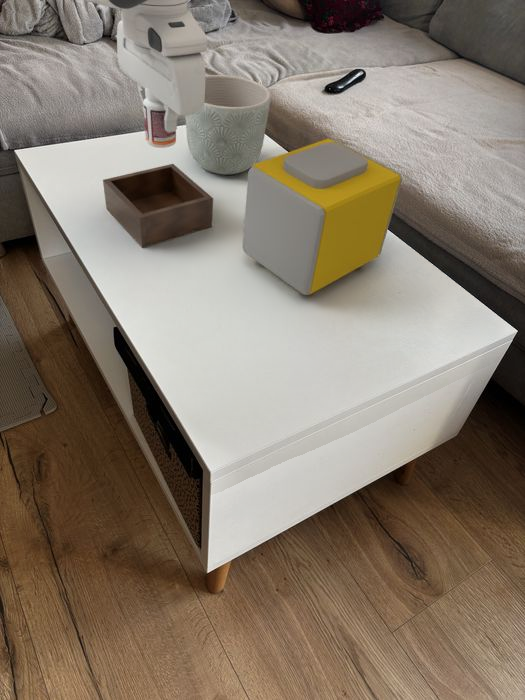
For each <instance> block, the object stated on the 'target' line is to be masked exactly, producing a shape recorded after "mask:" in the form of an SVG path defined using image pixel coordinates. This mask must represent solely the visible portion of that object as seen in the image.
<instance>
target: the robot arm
mask: <svg viewBox="0 0 525 700" xmlns="http://www.w3.org/2000/svg"><path fill="white" fill-rule="evenodd" d="M84 1H86V2H89V3H92V4H93V3H94V4H97V5H100V6H104V7H108V8H112V9H119V10H121V12H120V20H119V21H118V23H117V25H116V26H117V27H116V51H117V53H116V54H117V64H118V67H119V69H120V71H121V72H122V73H123V74H125V75H126V76H127V77H128V78H130V79H131V80H133V81H134V82H135V83H136V84H137V91H138V95H139V97H140V100H141V102H142V103H143V102H144V99H145V98H146V96H145V87H146V88H147V89H149V90H150V92H151V94H152V95H153V96H155V97H156V98H157V99H159V100H160V101H161V102H163V103H164V109H165V110H166V112H165V117H162V128H163V129H164V130H166V131H167V132H174V131H176V132H177V129H178V118H179V116H180V117H185V116H188V115H193V114H198V113H200V112H201V110H202V108H203V106H204V101H205V76H206V62H205V59H204V57H203V54H202V53H205V52H207V50H208V37H207V35H206V33H205V31H204V30H203V28H201V26H200V25H199V23H198V22H197V21H196V19H195V17H194V15H193V13H192V11H191V10H189V0H84ZM142 112H143V113H144V107H143V106H142Z"/></svg>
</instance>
